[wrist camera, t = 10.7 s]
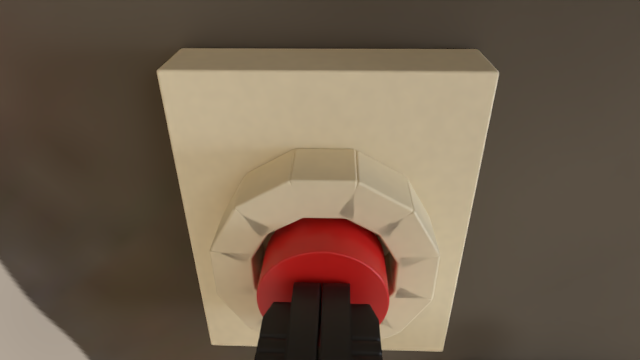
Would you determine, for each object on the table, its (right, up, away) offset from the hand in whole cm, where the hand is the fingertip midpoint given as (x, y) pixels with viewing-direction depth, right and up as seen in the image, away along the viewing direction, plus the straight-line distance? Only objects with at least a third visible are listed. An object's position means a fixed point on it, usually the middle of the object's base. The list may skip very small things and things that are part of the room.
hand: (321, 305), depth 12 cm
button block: (0, +3, +4) cm, 5 cm away
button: (0, +1, +1) cm, 2 cm away
